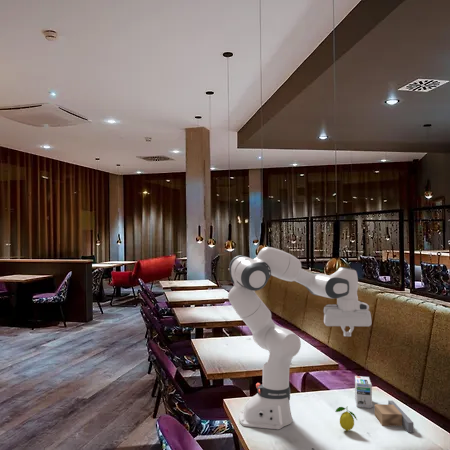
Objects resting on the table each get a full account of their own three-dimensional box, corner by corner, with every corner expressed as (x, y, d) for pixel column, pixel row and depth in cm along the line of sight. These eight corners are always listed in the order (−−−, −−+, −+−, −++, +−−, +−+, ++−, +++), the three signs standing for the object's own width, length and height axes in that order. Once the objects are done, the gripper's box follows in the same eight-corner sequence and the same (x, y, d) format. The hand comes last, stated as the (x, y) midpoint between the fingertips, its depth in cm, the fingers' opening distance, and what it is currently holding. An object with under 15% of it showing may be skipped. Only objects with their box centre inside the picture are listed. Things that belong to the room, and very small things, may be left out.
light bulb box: (372, 408, 197) (372, 384, 198) (356, 407, 199) (356, 383, 199) (369, 399, 208) (369, 376, 208) (354, 398, 209) (354, 375, 209)
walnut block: (382, 426, 180) (382, 414, 180) (374, 416, 190) (374, 404, 190) (402, 426, 180) (402, 414, 180) (393, 416, 190) (393, 404, 190)
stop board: (408, 432, 174) (408, 422, 174) (388, 409, 196) (388, 400, 196) (413, 432, 174) (413, 422, 174) (392, 409, 196) (392, 400, 196)
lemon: (335, 428, 178) (335, 403, 178) (347, 426, 180) (347, 401, 180) (345, 436, 171) (345, 410, 171) (357, 433, 173) (358, 408, 173)
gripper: (325, 305, 191) (325, 337, 191) (372, 305, 190) (372, 338, 190) (322, 303, 197) (322, 334, 197) (368, 303, 197) (368, 334, 197)
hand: (347, 336), depth 194 cm, fingers closed
